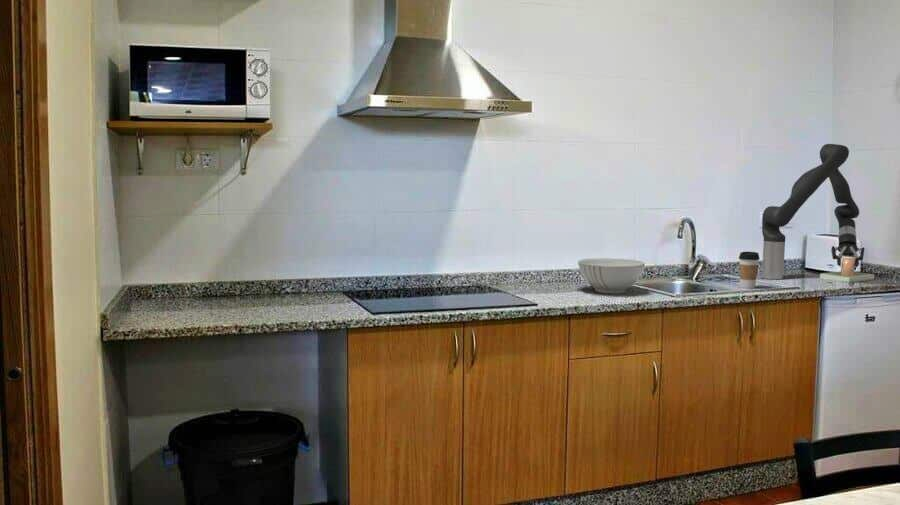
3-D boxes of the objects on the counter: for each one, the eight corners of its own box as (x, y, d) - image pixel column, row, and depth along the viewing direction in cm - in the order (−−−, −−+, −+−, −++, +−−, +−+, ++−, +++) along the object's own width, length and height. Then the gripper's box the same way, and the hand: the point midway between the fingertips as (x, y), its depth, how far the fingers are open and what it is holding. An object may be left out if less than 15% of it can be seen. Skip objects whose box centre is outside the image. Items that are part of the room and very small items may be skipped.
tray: (848, 283, 347) (849, 277, 347) (819, 279, 359) (820, 273, 359) (873, 279, 358) (874, 274, 357) (844, 276, 369) (845, 270, 369)
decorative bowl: (578, 295, 308) (578, 265, 306) (576, 285, 334) (577, 257, 333) (647, 297, 304) (648, 266, 303) (640, 287, 330) (641, 258, 329)
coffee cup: (759, 287, 333) (761, 252, 331) (755, 289, 326) (757, 254, 324) (739, 285, 338) (741, 251, 336) (735, 287, 330) (736, 252, 329)
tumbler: (840, 278, 357) (842, 256, 356) (839, 276, 362) (841, 255, 361) (854, 279, 355) (856, 257, 353) (853, 277, 360) (855, 256, 359)
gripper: (831, 232, 365) (831, 259, 356) (865, 233, 360) (866, 261, 351) (829, 242, 371) (829, 270, 361) (863, 243, 366) (864, 271, 356)
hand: (848, 265), depth 356 cm, fingers open, 6 cm apart
